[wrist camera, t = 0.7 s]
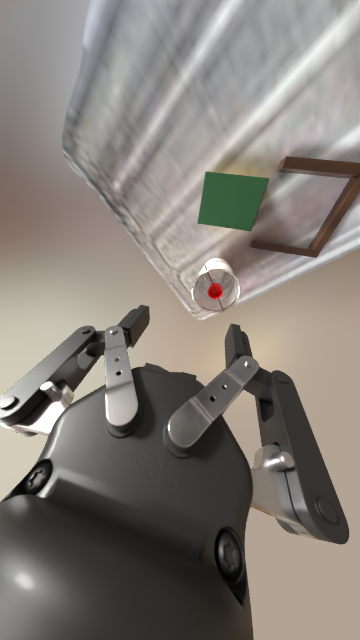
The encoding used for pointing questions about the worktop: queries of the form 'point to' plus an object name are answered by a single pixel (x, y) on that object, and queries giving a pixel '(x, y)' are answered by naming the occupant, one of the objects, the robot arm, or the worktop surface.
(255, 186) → the sponge
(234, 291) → the white canister
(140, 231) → the worktop surface
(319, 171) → the sponge rack
